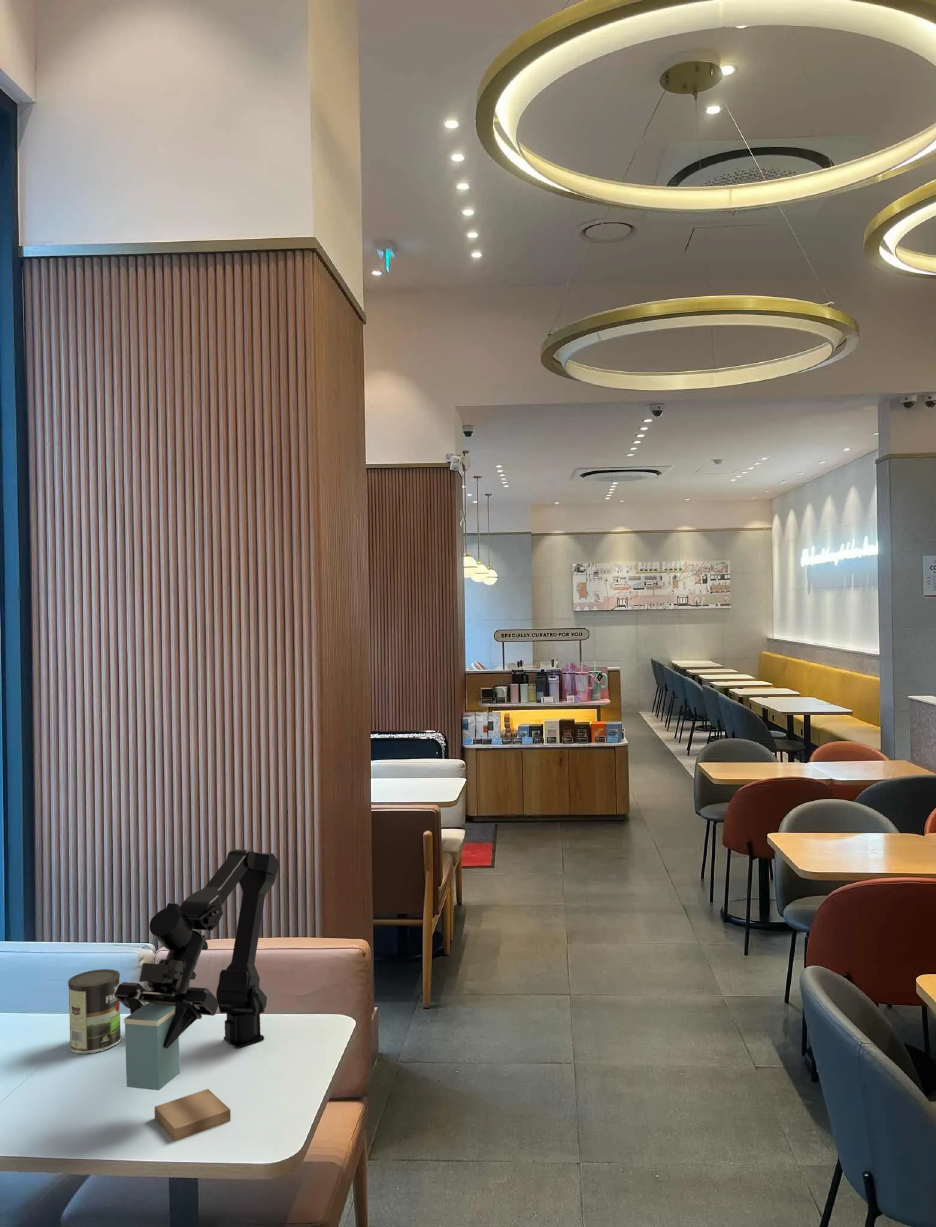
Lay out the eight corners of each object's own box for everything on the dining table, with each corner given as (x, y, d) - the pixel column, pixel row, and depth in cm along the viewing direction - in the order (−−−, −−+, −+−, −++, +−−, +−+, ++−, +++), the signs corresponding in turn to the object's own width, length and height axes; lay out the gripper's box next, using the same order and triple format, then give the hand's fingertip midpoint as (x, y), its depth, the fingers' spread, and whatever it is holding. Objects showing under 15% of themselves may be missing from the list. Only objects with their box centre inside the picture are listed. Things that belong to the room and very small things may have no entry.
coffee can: (128, 1033, 204) (127, 968, 204) (109, 1054, 194) (108, 985, 194) (82, 1034, 204) (80, 969, 204) (60, 1055, 194) (59, 987, 194)
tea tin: (148, 1069, 171) (146, 1004, 171) (180, 1073, 169) (178, 1006, 169) (125, 1087, 164) (124, 1019, 165) (159, 1091, 163) (157, 1021, 163)
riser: (208, 1102, 173) (208, 1089, 173) (230, 1124, 165) (230, 1109, 165) (154, 1121, 167) (154, 1106, 167) (175, 1144, 159) (175, 1129, 159)
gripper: (118, 939, 173) (81, 1023, 163) (208, 944, 169) (175, 1031, 158) (145, 966, 181) (110, 1048, 170) (231, 972, 176) (201, 1057, 165)
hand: (148, 1046), depth 166 cm, fingers closed on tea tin, 6 cm apart
